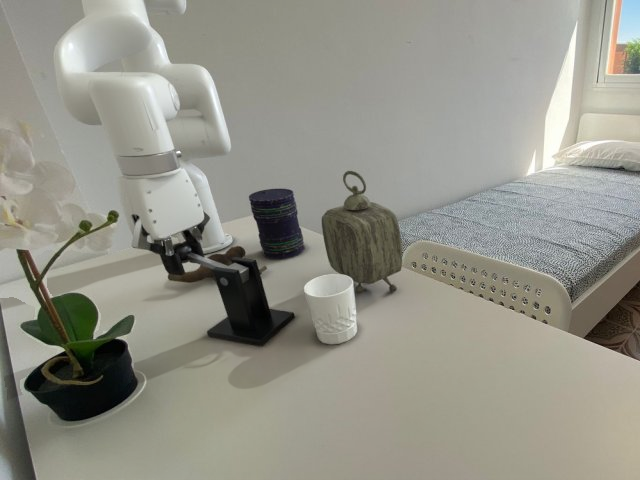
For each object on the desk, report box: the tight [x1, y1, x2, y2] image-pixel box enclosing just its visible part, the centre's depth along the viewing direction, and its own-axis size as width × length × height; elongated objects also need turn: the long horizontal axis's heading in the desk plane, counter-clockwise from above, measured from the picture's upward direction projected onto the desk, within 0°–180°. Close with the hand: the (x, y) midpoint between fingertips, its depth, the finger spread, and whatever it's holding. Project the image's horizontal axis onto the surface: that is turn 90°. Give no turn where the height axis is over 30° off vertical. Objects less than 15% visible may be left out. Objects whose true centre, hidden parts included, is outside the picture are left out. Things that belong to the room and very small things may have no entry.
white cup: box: [303, 273, 358, 345], centre depth 71 cm, size 8×8×10 cm
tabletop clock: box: [321, 170, 403, 293], centre depth 82 cm, size 14×9×25 cm, turn 50°
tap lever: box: [173, 242, 249, 283], centre depth 70 cm, size 14×4×4 cm, turn 77°
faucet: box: [167, 245, 268, 284], centre depth 92 cm, size 5×17×15 cm
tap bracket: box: [206, 257, 296, 347], centre depth 72 cm, size 11×9×13 cm
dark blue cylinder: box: [248, 188, 306, 261], centre depth 101 cm, size 10×10×15 cm
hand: (187, 267), depth 72 cm, fingers closed on tap lever, 3 cm apart
